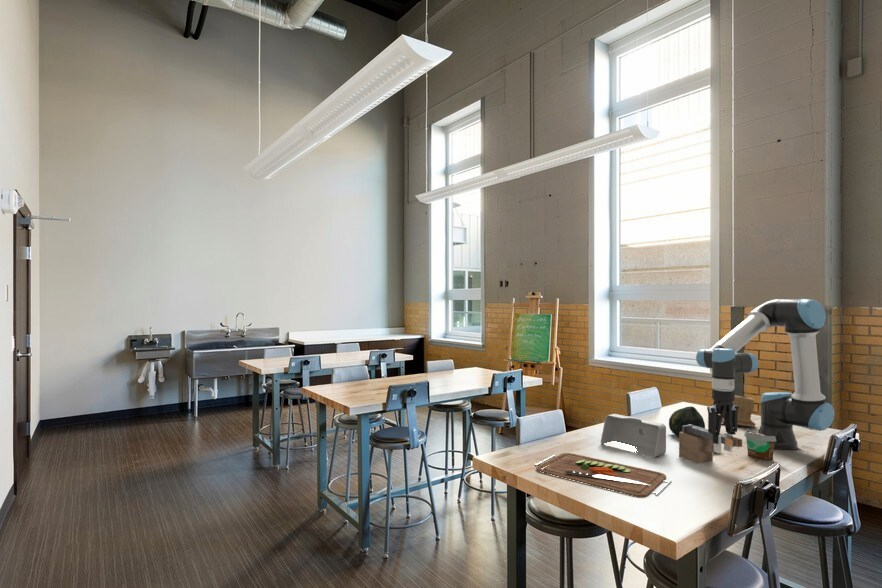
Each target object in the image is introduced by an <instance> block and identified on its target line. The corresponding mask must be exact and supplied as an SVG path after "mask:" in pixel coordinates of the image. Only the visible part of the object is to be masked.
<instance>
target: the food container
mask: <svg viewBox="0 0 882 588" xmlns="http://www.w3.org/2000/svg"><path fill="white" fill-rule="evenodd" d="M743 436H744V437H745V439H746V448H747V456H748V458H752V459H754V460H759V461H769V462H770V461H774V451H775V448H774V444H775V442H776V438H775V436H766V435H764V434H761V433H758V432H755V431H754V432H753V431H750V429H749V428H747V429H745V430H744V435H743Z"/></svg>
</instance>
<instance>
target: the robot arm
mask: <svg viewBox="0 0 882 588" xmlns="http://www.w3.org/2000/svg"><path fill="white" fill-rule="evenodd" d="M826 319H827V315H826V311H825V308H824V307H823V305H822V304H821V303H820V302H819V301H818V300H815V299H812V298H811V299H810V298H809V299H808V298H776V299H771V300H768V301H766V302H764V303H762V304H760V305H758V306H757V307H755V308H754V309H752V310H751V311H750V312H749V313H747V315H746V318H745V319H744V320H743V321H741V322H740V323H739V324H738V325H736V327H734V328H733V329H732V330H730V331H729V332H728V333H727V334H726V335H724V337H722V338H721V339H720V340H718V341H717V342H716V343H715V344H713V345H712V346H711V347H710V348H709V349H708V348H702V349H699V350H698V351H697V352H696V355H695V359H696V363H697V364H698V365H699V367H702V368H707V369H711V371H712V374H711V388H712V390H711V398H712V400H713V404H712V405H711V406H707V407H706V410H707V415H708V416H707V424H708V425H707V429H708V432H709V433H711V434H713V443H714V452H713V453H718V454H722V443H721V435H719V434H720V433H721V427H722V424H724V427H725V432H724V433H723V434H725V435H728V436H731V437H734V436H735V435H736V433H737V432H738V425H737V422H738V409H739V406H736V405H733V402H732V401H734V400H735V395H736V394H735V391H734V390H735V389H736V388H735V387H736V386H735V379H736V377H735V376H736V374H739V373H740V374H745V373H746V374H749V373H753V372H755V371H756V370H757V369H758V368H759V359H758V357H757V356H756V354H753V353H749V352H739V351H740V350H741V349H742V348H743V347H744V346H746V345H747V343H749V342H750V341H752V340H753V339H754V338H755V337H756V336H757V335H759V334H760V333H761V332H764V331H767V330H769V329H770V328H773V327H784V332H785V334H787V335H788V336H789V340H790V341H789V342H790V351H791V361H792V363H791V364H792V372H793V382H794V385H793V386H794V392H793V393H792V392H786V391H785V392H784V391H773V392H772V391H771V392H764V393H762V394H761V397H760V402H759V403H760V427H759V429H758V432H757V433H761V434H764V435H766V436H775V438H776V442H775V444H774V450H775V449H776V450H786V451H789V450H790V451H791V450H796V449H798V441H797V439H796V435H795V432H794V429H793V426H796V427H799V428H800V427H801V428H805V429H809V430H812V431H813V430H814V431H821V432H823V431H826V430H827V429H828V428H830V427H831V425H832V423H833V421H834V419H835V408H834V407H833V405H832V404H831V403H828V402H827V399H826V398H827V397H826V396H825V395H824V394H823V393H822V392H821V382H820V370H819V362H818V361H819V360H818V351H817V350H818V349H817V348H818V347H817V337H816V335H817V334H819V333H820V331H821V330H820V329H821V328H822V327H824V325H825V321H827V320H826ZM722 418H724V423H722ZM733 435H734V436H733ZM723 449H724V451H727V452H729V453H732V452H733V447H731V446H728V445H725V444H723Z"/></svg>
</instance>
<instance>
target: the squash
mask: <svg viewBox="0 0 882 588" xmlns="http://www.w3.org/2000/svg"><path fill="white" fill-rule="evenodd" d="M688 424H691V425H694V426H698V427H701V428H704V429H706V423H705V420H704V417H703V416H702V415H701V413H700V412H699V410H697V408H695V407H694V406H691V405H690V406H686V407H683V408H680V409H677V410H674V412H672V414H671V415H670V417H669V420H668V427H669V430H670V431H671V432H672V434H674V435H676V436H678V437H679V432H682V426H684V425H688Z"/></svg>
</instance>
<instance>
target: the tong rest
mask: <svg viewBox="0 0 882 588" xmlns="http://www.w3.org/2000/svg"><path fill="white" fill-rule="evenodd" d="M686 426H688V425H684V426H682V432H679V436H678V457H679V458H682V459H684V460H686V461H690V462H691V463H695V464H704V463H705V464H706V463H713V462H714V452H713V440H709V439H706V438H703V437H700V436H697V435H693V434H690V433H687V432H686ZM693 427H696V428H700V429H703V430H707V431H708V428H705V429H704V428H701V427H698V426H694V425H693ZM720 435H724V436H727V437H731V436H728V435H725V434H724V433H721V432H720ZM731 438H734V439H737V446H736V447H737V448H741V447H743V439H742V438H738V437H735V436H733V437H731ZM736 447H735V448H736Z"/></svg>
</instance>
